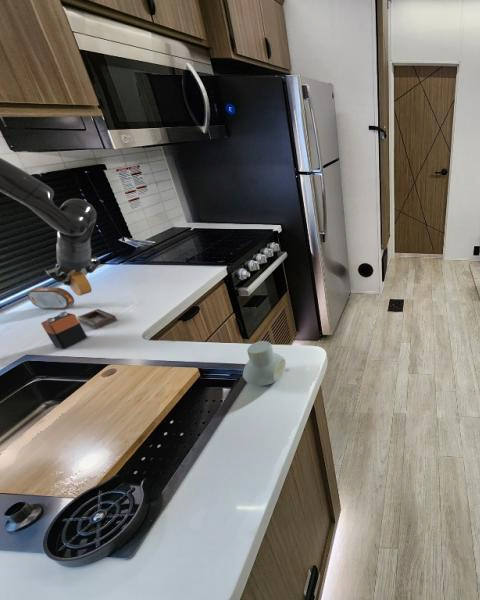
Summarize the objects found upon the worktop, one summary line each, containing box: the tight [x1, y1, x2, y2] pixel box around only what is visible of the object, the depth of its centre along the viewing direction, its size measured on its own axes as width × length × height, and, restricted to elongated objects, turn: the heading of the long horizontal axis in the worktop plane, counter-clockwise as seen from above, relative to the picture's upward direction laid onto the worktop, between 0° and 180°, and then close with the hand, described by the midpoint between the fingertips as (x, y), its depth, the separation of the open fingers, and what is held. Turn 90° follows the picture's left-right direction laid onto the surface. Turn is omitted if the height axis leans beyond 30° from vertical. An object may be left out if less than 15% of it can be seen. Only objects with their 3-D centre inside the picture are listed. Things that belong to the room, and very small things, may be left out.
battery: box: [40, 311, 88, 350], centre depth 103 cm, size 4×7×10 cm, turn 163°
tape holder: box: [76, 308, 118, 330], centre depth 117 cm, size 6×12×2 cm, turn 63°
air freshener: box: [242, 340, 286, 387], centre depth 86 cm, size 11×8×10 cm
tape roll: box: [68, 271, 93, 297], centre depth 110 cm, size 3×8×8 cm, turn 63°
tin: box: [26, 286, 75, 310], centre depth 125 cm, size 15×3×8 cm, turn 88°
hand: (73, 281), depth 111 cm, fingers closed on tape roll, 3 cm apart
